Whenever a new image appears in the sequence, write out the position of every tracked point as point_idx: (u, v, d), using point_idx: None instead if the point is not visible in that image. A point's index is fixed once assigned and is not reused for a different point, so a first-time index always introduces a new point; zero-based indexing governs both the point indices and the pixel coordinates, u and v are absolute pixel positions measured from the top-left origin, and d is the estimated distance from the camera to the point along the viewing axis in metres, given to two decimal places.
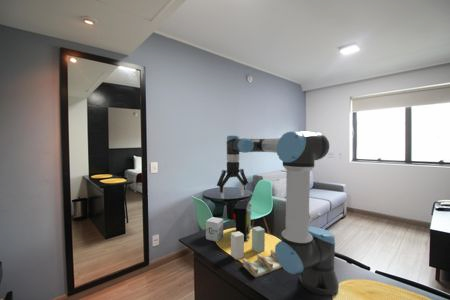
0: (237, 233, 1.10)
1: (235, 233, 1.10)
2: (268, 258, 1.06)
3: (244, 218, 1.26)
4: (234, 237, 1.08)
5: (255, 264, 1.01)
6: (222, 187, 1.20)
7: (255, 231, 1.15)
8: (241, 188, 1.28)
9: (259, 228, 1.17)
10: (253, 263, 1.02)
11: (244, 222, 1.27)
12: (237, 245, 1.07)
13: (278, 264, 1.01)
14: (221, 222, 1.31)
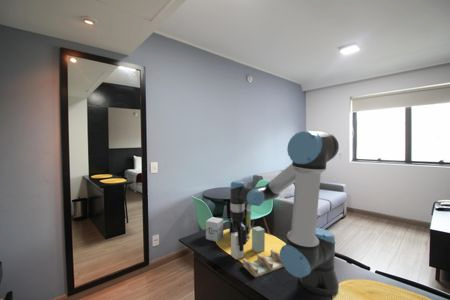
0: None
1: (235, 233, 1.10)
2: (268, 258, 1.06)
3: (244, 218, 1.26)
4: (234, 237, 1.08)
5: (255, 264, 1.01)
6: None
7: (255, 231, 1.15)
8: None
9: (259, 228, 1.17)
10: (253, 263, 1.02)
11: (244, 222, 1.27)
12: (237, 245, 1.07)
13: (278, 264, 1.01)
14: (221, 222, 1.31)
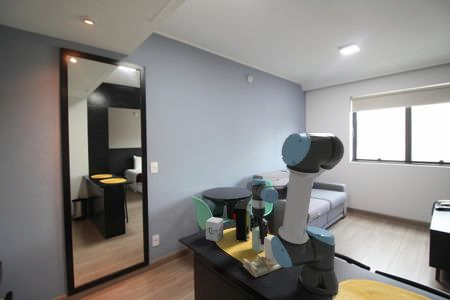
0: (271, 237, 1.04)
1: (269, 237, 1.04)
2: None
3: (244, 218, 1.26)
4: (269, 242, 1.01)
5: (255, 264, 1.01)
6: None
7: (255, 231, 1.15)
8: None
9: None
10: (253, 263, 1.02)
11: (244, 222, 1.27)
12: None
13: (278, 264, 1.01)
14: (221, 222, 1.31)
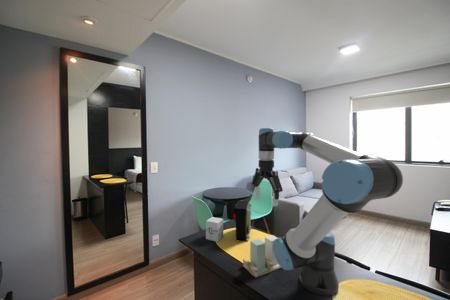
0: (271, 237, 1.04)
1: (269, 237, 1.04)
2: None
3: (244, 218, 1.26)
4: (269, 242, 1.01)
5: None
6: (255, 186, 1.09)
7: (254, 245, 0.97)
8: None
9: (259, 241, 0.99)
10: None
11: (244, 222, 1.27)
12: (273, 250, 1.00)
13: (278, 264, 1.01)
14: (221, 222, 1.31)
